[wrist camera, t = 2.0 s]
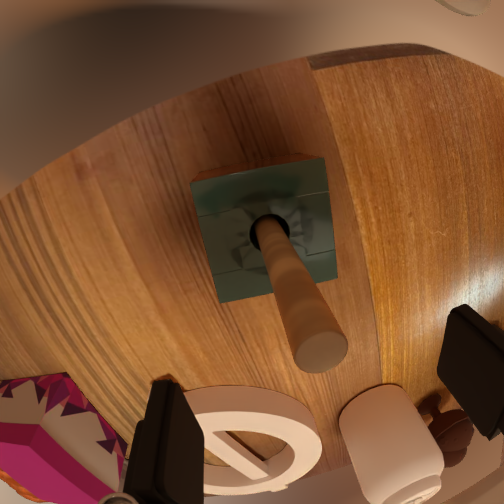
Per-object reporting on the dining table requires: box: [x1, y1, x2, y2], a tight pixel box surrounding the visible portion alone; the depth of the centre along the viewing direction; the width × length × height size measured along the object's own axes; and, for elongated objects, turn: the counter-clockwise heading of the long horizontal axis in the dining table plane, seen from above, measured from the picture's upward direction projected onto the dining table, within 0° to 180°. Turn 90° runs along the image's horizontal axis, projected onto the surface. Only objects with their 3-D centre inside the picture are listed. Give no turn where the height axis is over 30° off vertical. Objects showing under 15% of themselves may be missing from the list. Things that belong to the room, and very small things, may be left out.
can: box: [339, 385, 444, 504], centre depth 34 cm, size 12×12×20 cm
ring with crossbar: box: [147, 379, 322, 495], centre depth 41 cm, size 28×28×5 cm
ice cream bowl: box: [418, 394, 474, 467], centre depth 39 cm, size 11×11×15 cm
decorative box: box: [0, 373, 128, 504], centre depth 33 cm, size 19×19×15 cm
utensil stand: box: [190, 153, 338, 303], centre depth 27 cm, size 10×10×8 cm
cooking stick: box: [253, 214, 348, 373], centre depth 20 cm, size 2×2×22 cm
